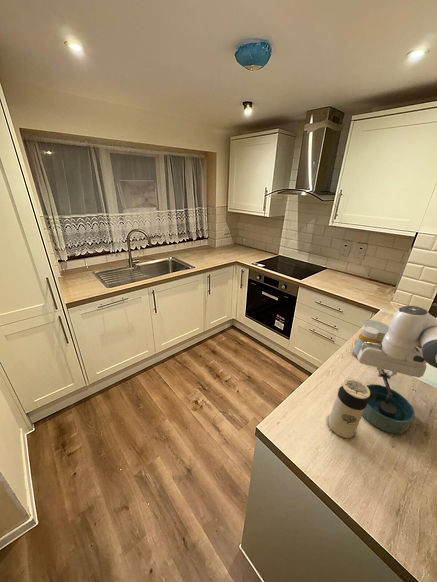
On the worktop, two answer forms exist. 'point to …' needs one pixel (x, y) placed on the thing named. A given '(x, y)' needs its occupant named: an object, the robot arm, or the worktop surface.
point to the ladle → (387, 401)
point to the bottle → (365, 338)
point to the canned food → (380, 327)
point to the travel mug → (348, 407)
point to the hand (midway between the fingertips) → (383, 376)
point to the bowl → (383, 422)
